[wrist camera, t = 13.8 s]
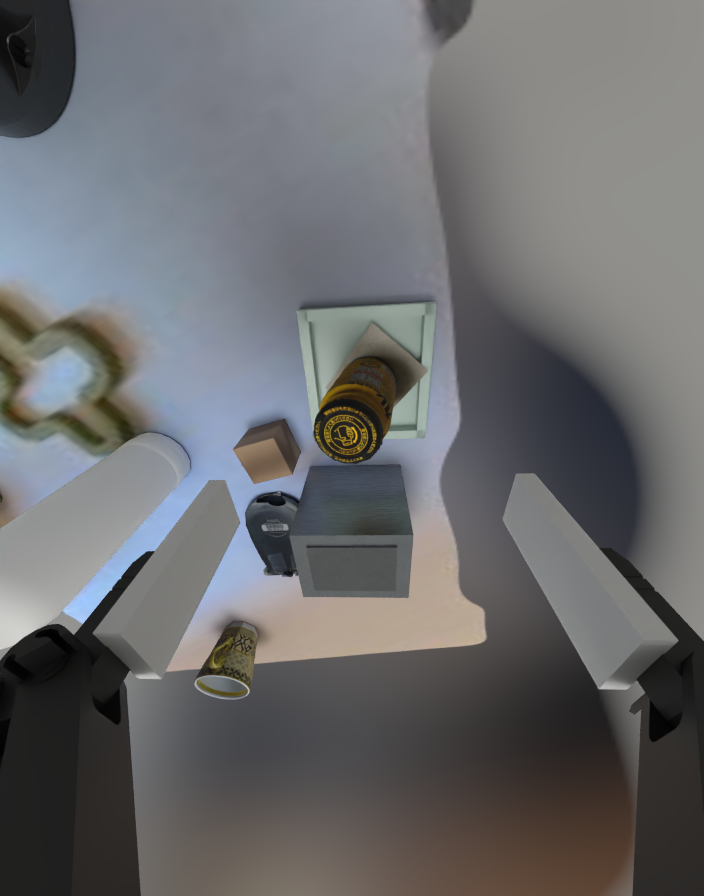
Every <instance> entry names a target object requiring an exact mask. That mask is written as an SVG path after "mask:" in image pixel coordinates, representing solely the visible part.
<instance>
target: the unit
mask: <svg viewBox="0 0 704 896" xmlns="http://www.w3.org/2000/svg"><path fill="white" fill-rule="evenodd" d="M289 537H290V541H291V546H292V550H293V554H294V558H295V563H296V567H297V571H298V575H299V580H300V584H301V588H302V593H303V597H387V598H408V596H409V584H410V571H411V558H412V546H413V531H412V525H411V520H410V515H409V509H408V504H407V498H406V493H405V488H404V482H403V477H402V472H401V466H400V465H361V466H313V467H310V468H309V472H308V475H307V478H306V482H305V485H304V488H303V492H302V495H301V498H300V501H299V505H298V508H297V511H296V515H295V518H294V521H293V525H292V528H291V531H290V535H289Z"/></svg>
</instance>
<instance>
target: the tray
mask: <svg viewBox="0 0 704 896" xmlns="http://www.w3.org/2000/svg"><path fill="white" fill-rule="evenodd" d="M436 307H437V303H436V302H433V301H430V302H413V303H395V304H378V305H360V306H342V307H325V308H307V309H299V310H297V311H296V313H297V320H298V327H299V334H300V342H301V349H302V356H303V363H304V371H305V378H306V385H307V392H308V399H309V407H310V414H311V421H312V428H313V431H314V423H315V418H316V415H317V414H318V412H319V408H320V404H321V401H322V399H323V397H324V396H325V395H326V393H327V391H328V390H327V389H326V386H327V385H328V383H329V382H330V381H331V379H332V378H333V377H334V375H335V374H336V372H337V371H338V370H339V368H340V367H341V365H342V364H343V363H344V361H345V360H346V358H347V357H348V356H349V354H350V353H351V351H352V350H353V349H354V347H355V346H356V345H357V343H358V342H359V340H360V339H361V338H362V336H363V335H364V333H365V332H366V331H367V329H368V328H369V326H370V325H371V324H372V323H373V324H374V325H376V326H377V327H378V328H379V329H380V330H381V331H383V332H384V333H385V334H386V335H387V336H388V337H390V338H391V339H392V340H393V341H395V342H396V343H397V344H398V345H399V346H400V347H402V348H403V349H404V350H405V351H406V352H407V353H409V354H410V355H411V356H412V357H413V358H414V359H416V360H417V361H418V362H419V363H420V364H421V365H422V366H424V367H425V368H426V369H427V370H428V372H427V373H426V374H425V375H424V376H423V377H422V378H421V379H420V380H419V381H418V382H417V383H416V385H415V386H414V387H413V388H412V389H411V390H410V391H409V392H408V393H407V394H406V395H405V396H404V397H403V398H402V399H401V401H400V402H399V403H398V404H397V405H396V406H395V407H394V408H393V412H392V419H391V424H390V428H389V431H388V433H387V435H386V436H385V437H384V438H383V439H406V438H425V434H426V422H427V411H428V399H429V388H430V376H431V365H432V353H433V342H434V330H435V319H436ZM313 436H314V434H313ZM314 441H316V440H315V438H314Z"/></svg>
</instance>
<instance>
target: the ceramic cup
mask: <svg viewBox="0 0 704 896" xmlns="http://www.w3.org/2000/svg"><path fill="white" fill-rule="evenodd" d="M257 638H258V633H257V631H256V629H255V627H254V626H252V625H249V624H247V623H245V622H232V623H231V624H230V625H228V626H227V627H226V628H225V630H224V632H223V633H222V635H221V637H220V639H219V640H218V642H217V644H216V645H215V647H214V649H213V650H212V652H211V654H210V656H209V657H208V658H207V660H206V662H205V663H204V665H203V666H202V668H201V670H200V672H199V674H198V675H197V678H196V679H195V681H194V684H195V687H196V688H197V689H198V690H199V691H201V692H203V693H205V694H207V695H210V696H213V697H217V698H222V699H239V698H243V697H245V696H246V695H248V694H249V692H250V687H251V682H252V675H253V665H254V659H255V652H256V645H257Z"/></svg>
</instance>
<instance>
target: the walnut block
mask: <svg viewBox="0 0 704 896" xmlns="http://www.w3.org/2000/svg"><path fill="white" fill-rule="evenodd" d="M233 450H234V452H235V454H236V455H237V457H238V459H239V460H240V462H241V463H242V465H243V467H244V468H245V470H246V472H247V473H248V475H249V476H250V478H251V480H252V481H253V483H254V484H256V483H260V482H264V481H268V480H272V479H276V478H280V477H284V476H288V475H292V474H293V471H294V469H295V466H296V464H297V461H298V458H299V456H300V453H301V452H300V450H299V448H298V446H297V443H296V441H295V439H294V437H293V435H292V433H291V431H290V429H289V427H288V425H287V423H286V421H285V419H283V420H279V421H276V422H272V423H269V424H266V425H262V426H259V427H255V428H252V429H249V430H248V431H247V432H246V433H245V435H244V436H243V437H242V439H241V440H240V441H239V442H238V444H237V445H236V446H235V447H234V449H233Z"/></svg>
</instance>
